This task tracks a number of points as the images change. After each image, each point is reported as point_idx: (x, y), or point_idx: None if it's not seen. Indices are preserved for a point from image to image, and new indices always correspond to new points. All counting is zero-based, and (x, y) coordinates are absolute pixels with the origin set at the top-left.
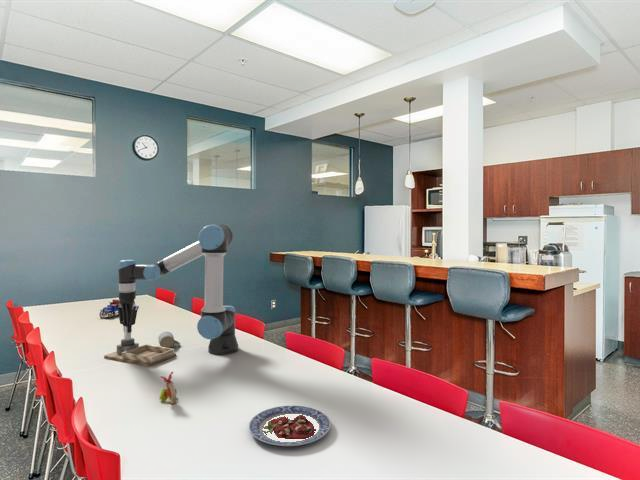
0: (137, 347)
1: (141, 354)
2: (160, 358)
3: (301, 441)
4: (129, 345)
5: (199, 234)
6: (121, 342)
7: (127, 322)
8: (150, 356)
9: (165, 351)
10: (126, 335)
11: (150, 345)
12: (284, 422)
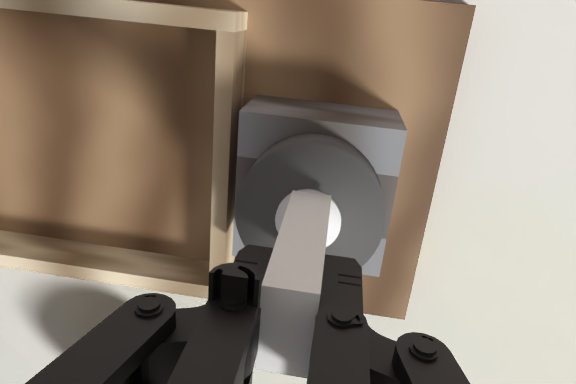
0: (218, 204)
1: (154, 150)
2: None
3: None
4: None
5: None
6: (342, 148)
7: (214, 339)
8: (43, 128)
9: (2, 238)
10: (285, 212)
11: (158, 283)
12: None
